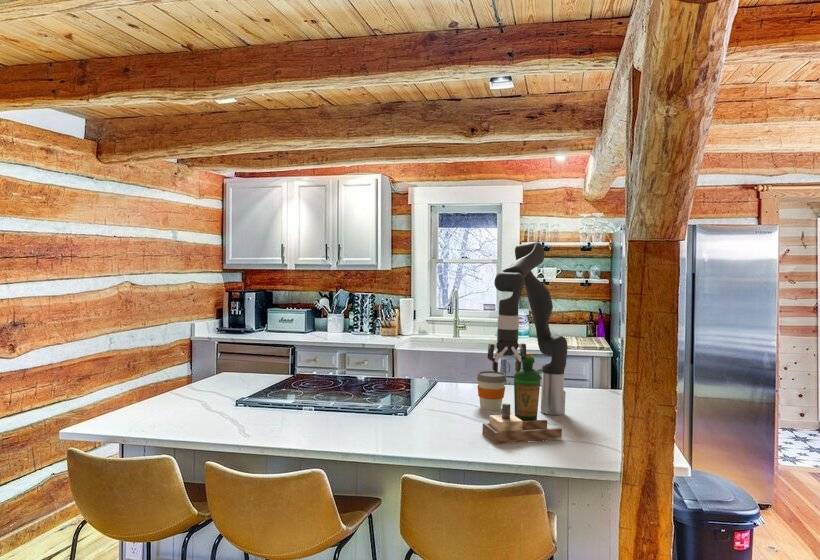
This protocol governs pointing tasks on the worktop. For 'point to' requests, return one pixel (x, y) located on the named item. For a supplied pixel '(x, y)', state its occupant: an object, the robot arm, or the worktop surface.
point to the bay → (523, 433)
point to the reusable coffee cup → (491, 389)
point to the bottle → (526, 390)
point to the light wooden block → (505, 421)
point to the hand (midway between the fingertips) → (506, 371)
